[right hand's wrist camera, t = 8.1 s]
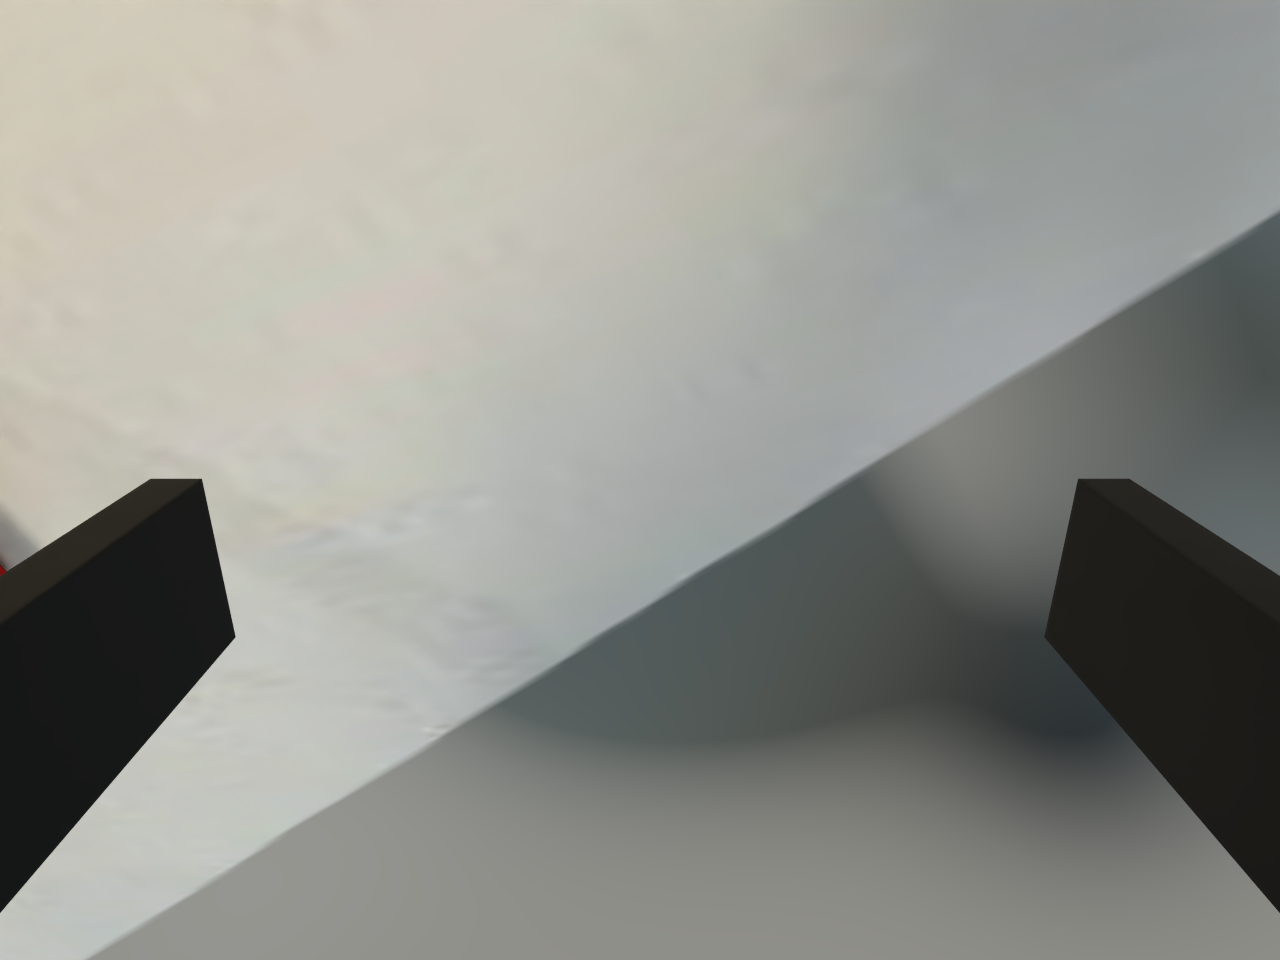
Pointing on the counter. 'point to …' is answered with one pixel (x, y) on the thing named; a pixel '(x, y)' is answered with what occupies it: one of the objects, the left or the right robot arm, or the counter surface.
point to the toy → (2, 571)
